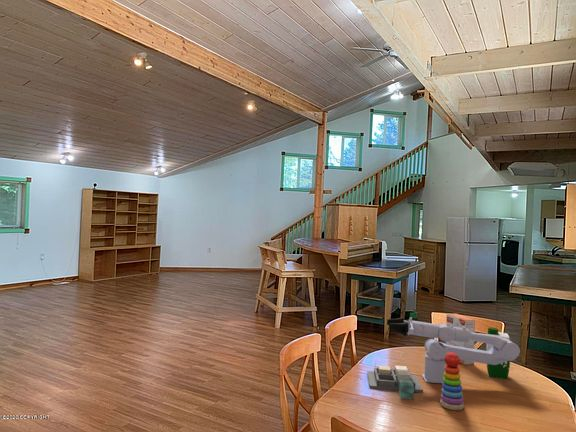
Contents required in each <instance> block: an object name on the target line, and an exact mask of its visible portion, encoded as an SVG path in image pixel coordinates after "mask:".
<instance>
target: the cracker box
mask: <svg viewBox="0 0 576 432" xmlns="http://www.w3.org/2000/svg"><path fill="white" fill-rule="evenodd" d="M445 325H447V326H448V327H449V326H450V325H452V326H453V327H459V328H462V326H463V327H465V328H466V329H469V331H470V332H472V333H476V319H473V318H470V317H467V316H465V315H461V314H459V313H446V322H445ZM475 343H476V341H470V342H468V343H463V342H457V341H451V340H450V341H448V342H446V341H445V344H447V345H451V346H458V347H464V348H471V349H475ZM459 364H461V365H463V366H468V365H469V366H471V365H475V362H472V361H466V360H460V363H459Z"/></svg>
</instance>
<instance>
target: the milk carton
mask: <svg viewBox="0 0 576 432" xmlns="http://www.w3.org/2000/svg"><path fill="white" fill-rule="evenodd" d="M487 334H490V335H498V336H501V337H506V338H508V339H509V340H510V336H509V334H508V333H506V332H502V331H501V332H500V331H499V328H497V327H488V328H487ZM510 341H511V340H510ZM492 346H493V345H491V344H486V351H489V350H490V349H491V348H492ZM510 367H511V361H506V362H503V363H500V364H497V365H491V364H486V369H487V376H488V377H489V378H493V379H499V380H507V381H508V378H509V373H510Z"/></svg>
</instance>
